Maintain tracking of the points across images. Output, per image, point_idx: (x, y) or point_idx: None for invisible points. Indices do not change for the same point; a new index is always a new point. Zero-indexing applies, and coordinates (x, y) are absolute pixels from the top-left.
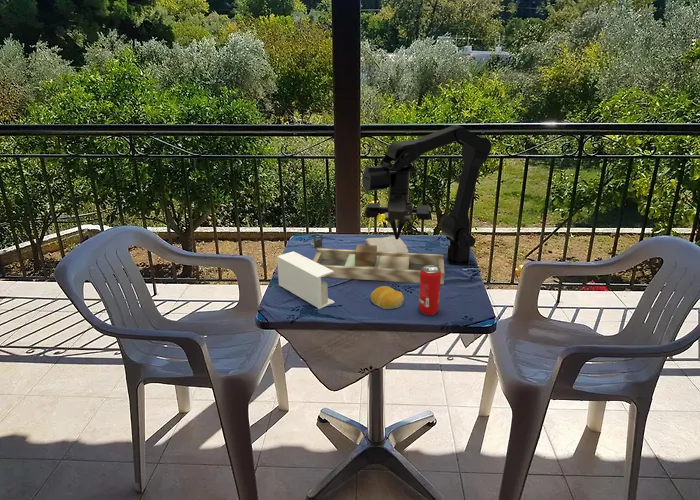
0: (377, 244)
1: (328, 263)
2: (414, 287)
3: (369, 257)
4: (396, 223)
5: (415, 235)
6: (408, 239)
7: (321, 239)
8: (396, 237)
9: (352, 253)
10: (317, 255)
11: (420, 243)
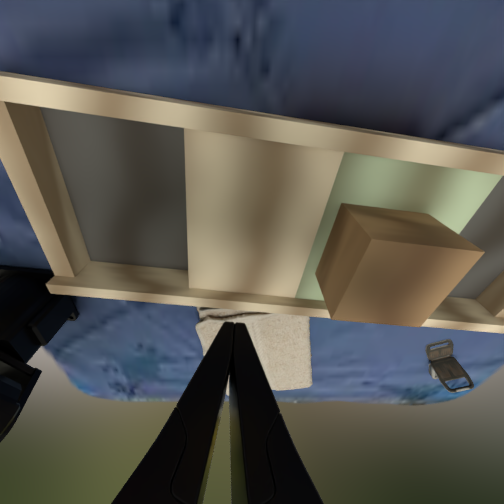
0: (289, 361)
1: (471, 270)
2: (149, 21)
3: (387, 226)
4: (233, 493)
5: None
6: None
7: (442, 380)
8: (238, 333)
9: None
10: None
11: (172, 373)
